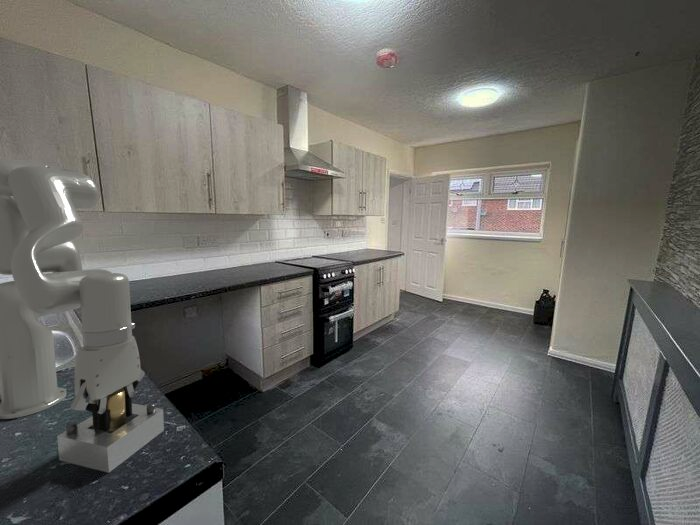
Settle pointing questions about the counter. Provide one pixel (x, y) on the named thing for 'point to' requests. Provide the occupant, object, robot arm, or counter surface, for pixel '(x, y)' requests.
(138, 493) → the counter surface
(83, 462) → the jig
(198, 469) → the counter surface
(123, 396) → the brass cylinder
